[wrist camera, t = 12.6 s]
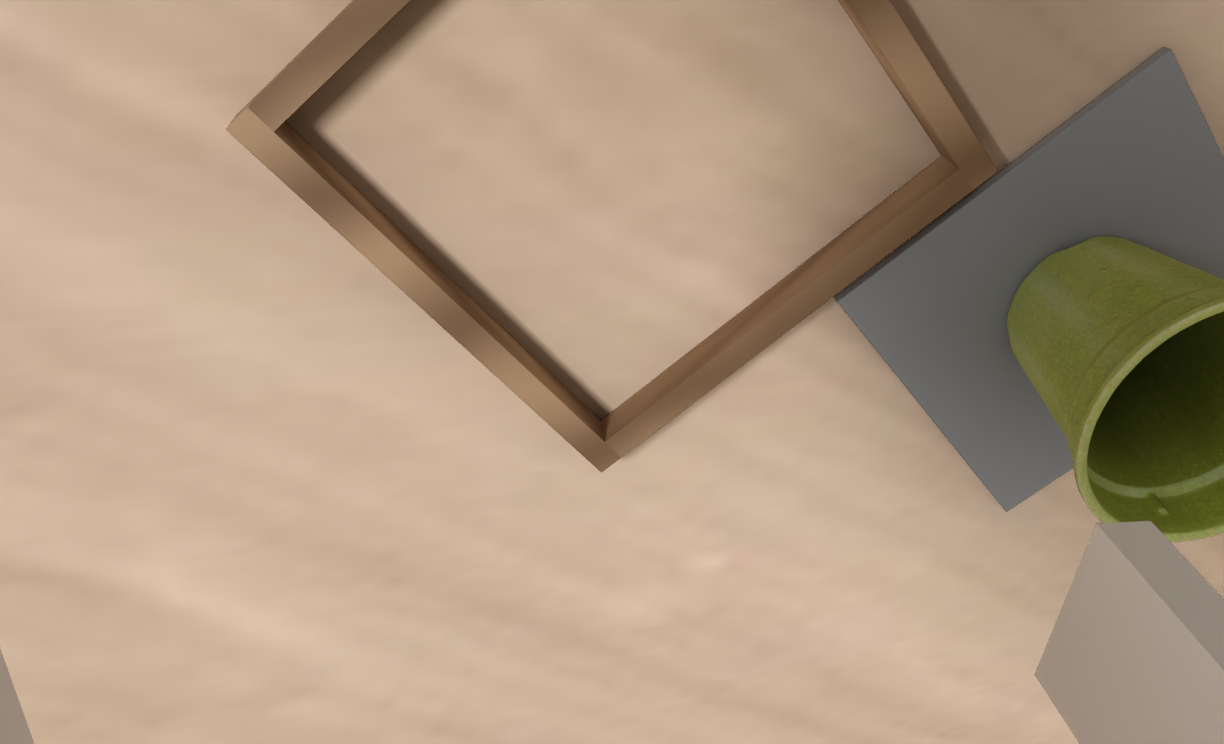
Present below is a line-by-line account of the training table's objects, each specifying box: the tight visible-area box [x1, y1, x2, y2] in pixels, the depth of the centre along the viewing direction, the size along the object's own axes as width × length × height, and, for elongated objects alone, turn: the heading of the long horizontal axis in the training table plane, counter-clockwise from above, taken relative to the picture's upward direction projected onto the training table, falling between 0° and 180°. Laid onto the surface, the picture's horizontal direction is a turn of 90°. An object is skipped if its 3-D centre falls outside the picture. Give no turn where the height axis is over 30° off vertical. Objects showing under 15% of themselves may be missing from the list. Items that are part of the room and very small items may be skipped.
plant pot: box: [1007, 236, 1224, 542], centre depth 35 cm, size 9×9×9 cm
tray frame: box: [226, 0, 998, 473], centre depth 33 cm, size 18×18×2 cm
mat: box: [834, 47, 1224, 512], centre depth 39 cm, size 14×14×1 cm
